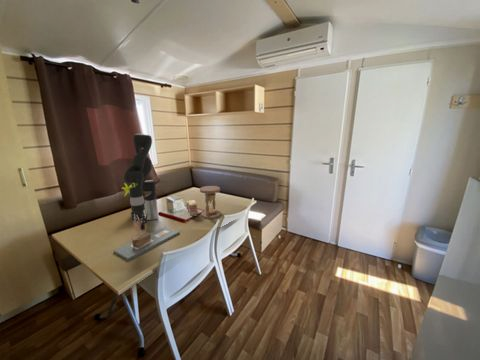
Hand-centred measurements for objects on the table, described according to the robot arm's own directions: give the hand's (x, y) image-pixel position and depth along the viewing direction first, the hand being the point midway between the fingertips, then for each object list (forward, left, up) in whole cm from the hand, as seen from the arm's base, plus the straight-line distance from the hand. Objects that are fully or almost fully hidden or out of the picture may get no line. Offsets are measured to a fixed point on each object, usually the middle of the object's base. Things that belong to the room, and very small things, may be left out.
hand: (140, 228), depth 129 cm
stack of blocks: (-12, +56, -13) cm, 59 cm away
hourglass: (+6, +62, -12) cm, 64 cm away
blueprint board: (0, +5, -12) cm, 13 cm away
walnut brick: (0, 0, -11) cm, 11 cm away
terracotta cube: (0, 0, 0) cm, 0 cm away
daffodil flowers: (-54, +29, -12) cm, 63 cm away
